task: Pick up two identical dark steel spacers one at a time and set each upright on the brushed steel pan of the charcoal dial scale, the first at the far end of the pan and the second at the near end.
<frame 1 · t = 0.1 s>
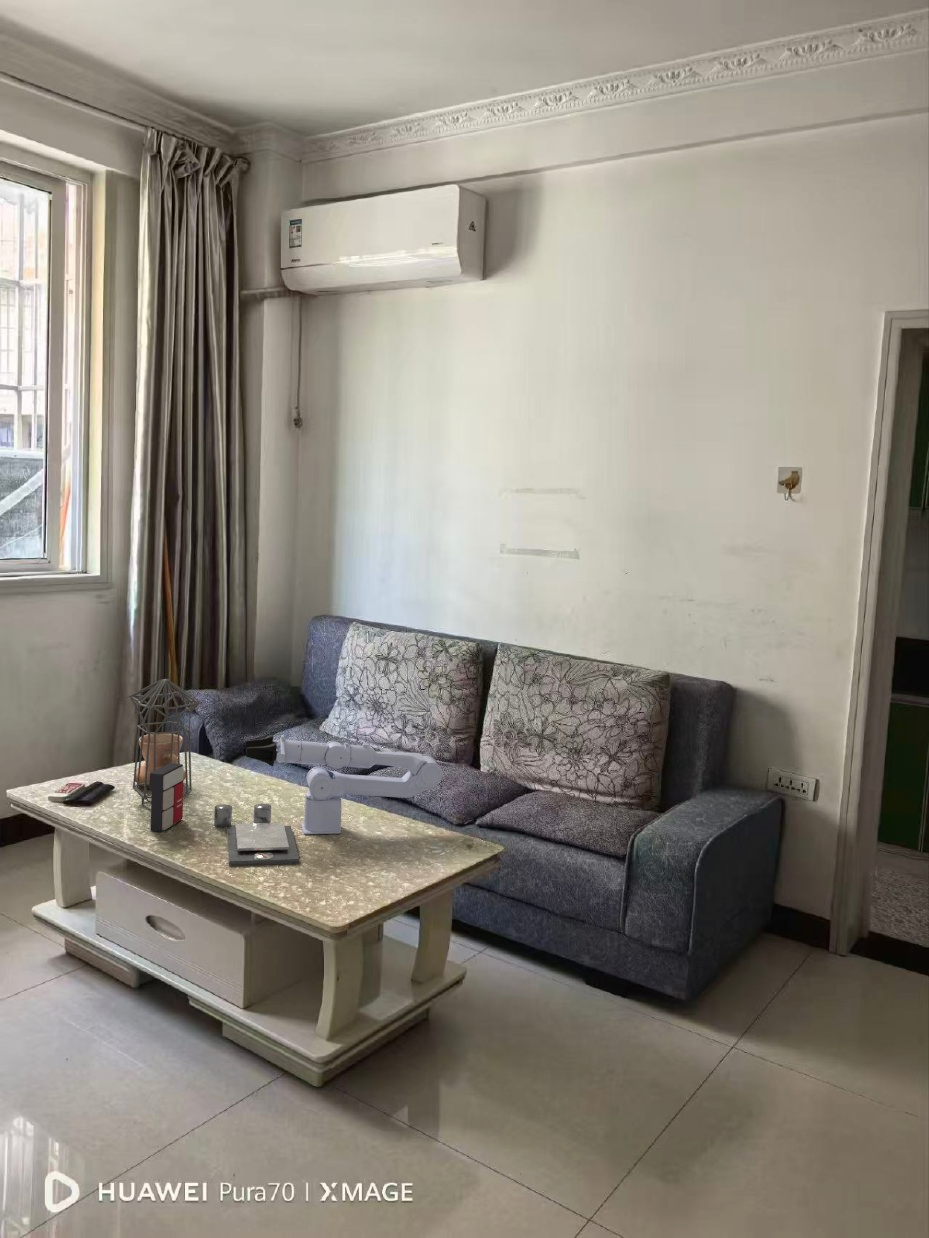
hand: (245, 748, 252), 22 cm above the table, tool horizontal, fingers open, 7 cm apart
geometric lantern: (161, 807, 270), on the table
ceramic jug: (160, 786, 288), on the table
grey and red box: (166, 826, 255), on the table
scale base: (261, 847, 244), on the table
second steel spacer: (262, 824, 260), on the table
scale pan: (261, 836, 245), point 2 cm above the table, slide at 0.0 cm
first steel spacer: (222, 825, 258), on the table
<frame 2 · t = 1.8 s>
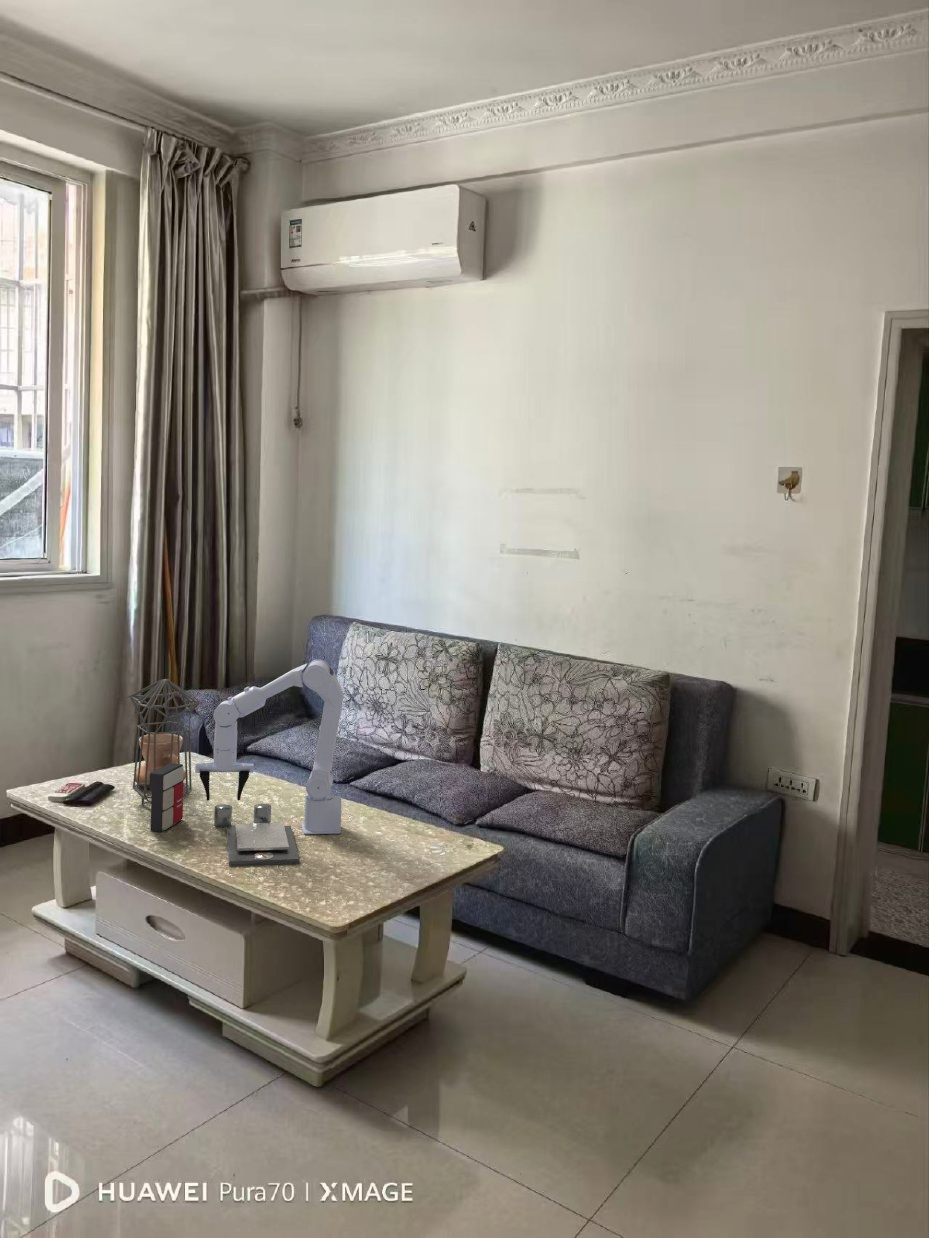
hand: (223, 799, 257), 7 cm above the table, tool pointing down, fingers open, 7 cm apart
nothing on the table moved.
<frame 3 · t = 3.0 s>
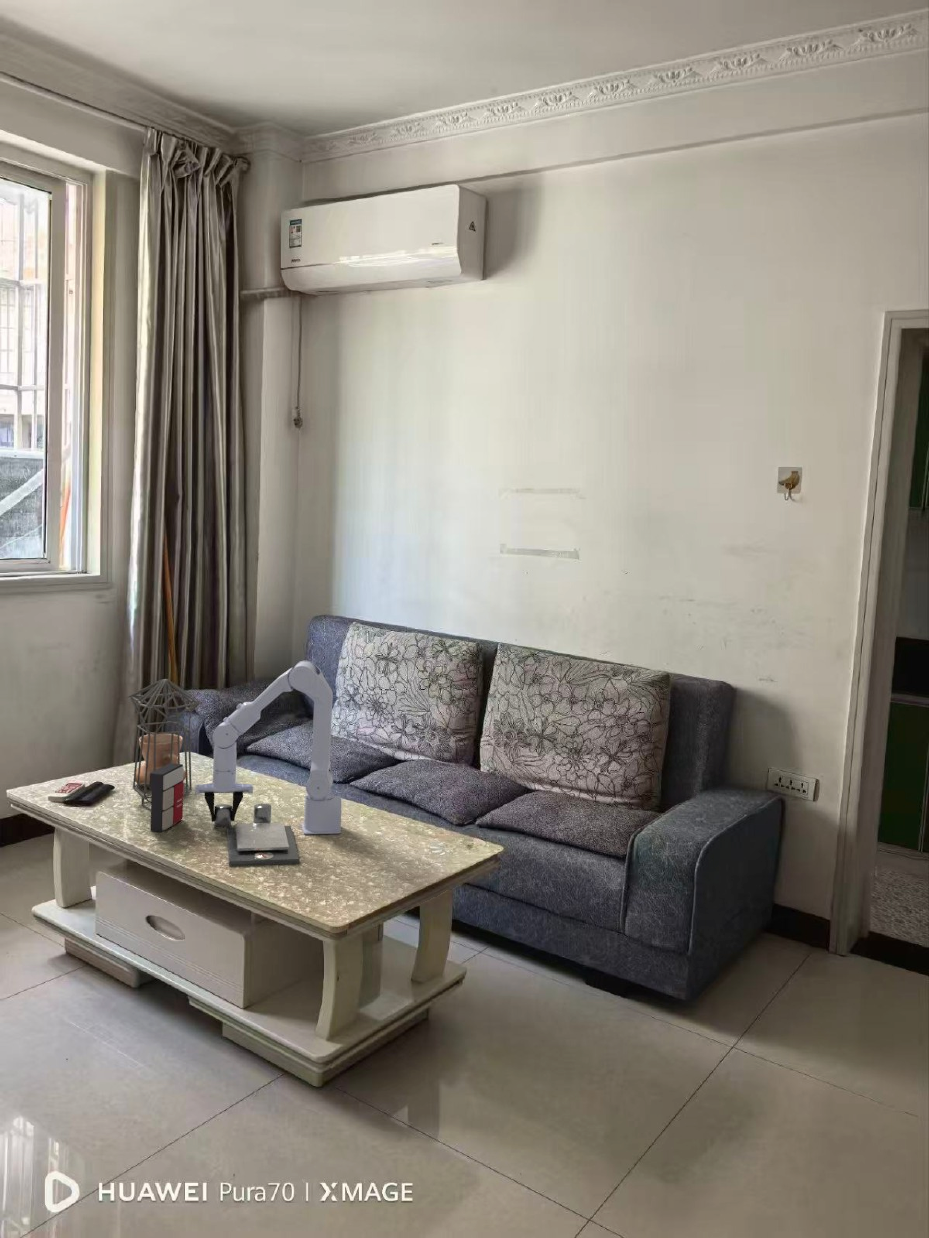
hand: (222, 820, 258), 1 cm above the table, tool pointing down, fingers closed on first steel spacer, 4 cm apart
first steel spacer: (222, 825, 258), on the table, touching gripper
everything else where it was.
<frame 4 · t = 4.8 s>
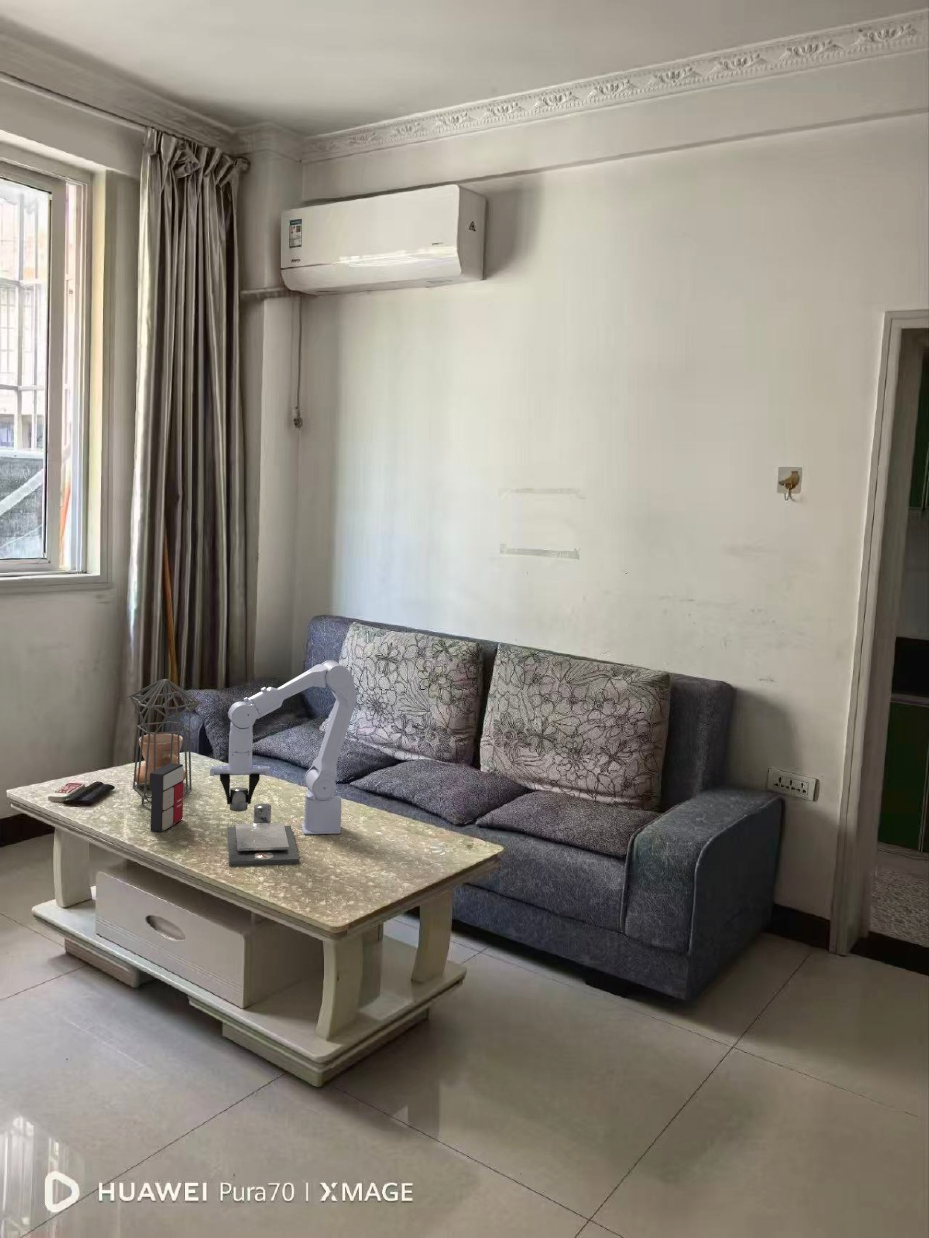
hand: (238, 802, 250), 8 cm above the table, tool pointing down, fingers closed on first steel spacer, 4 cm apart
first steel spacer: (238, 808, 251), point 7 cm above the table, touching gripper
everything else where it was.
when the fingers open (5 cm above the table, at t = 6.7 s): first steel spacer drops 1 cm, resting on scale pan.
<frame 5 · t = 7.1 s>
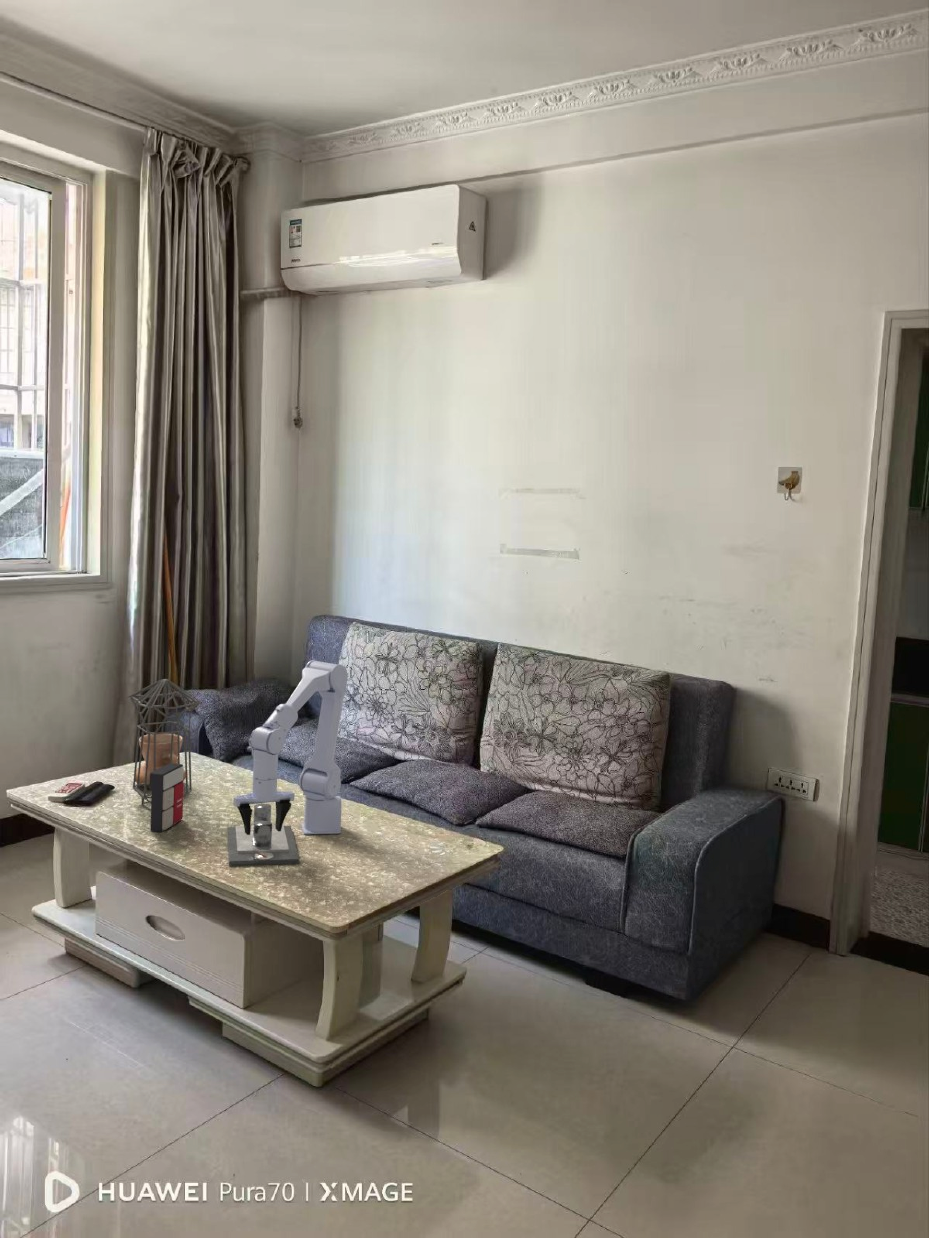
hand: (263, 831, 240), 5 cm above the table, tool pointing down, fingers open, 7 cm apart
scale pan: (261, 838, 245), point 2 cm above the table, slide at 0.6 cm, touching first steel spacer
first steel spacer: (262, 843, 241), point 2 cm above the table, touching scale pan
everything else where it was.
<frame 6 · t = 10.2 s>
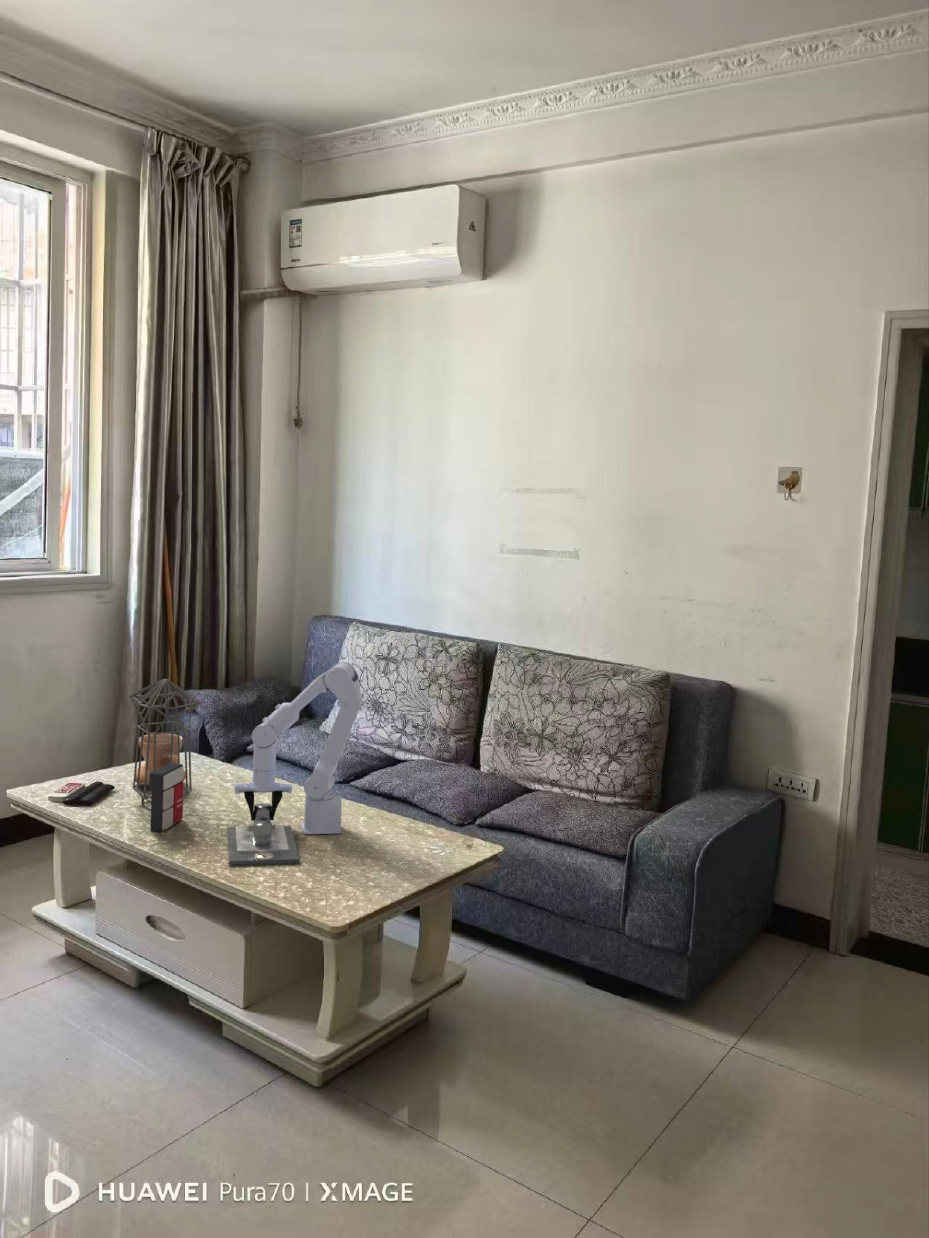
hand: (262, 819, 260), 1 cm above the table, tool pointing down, fingers closed on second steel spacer, 4 cm apart
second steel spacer: (262, 824, 260), on the table, touching gripper
everything else where it was.
when the fingers open (5 cm above the table, at t = 13.1 s): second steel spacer drops 1 cm, resting on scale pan.
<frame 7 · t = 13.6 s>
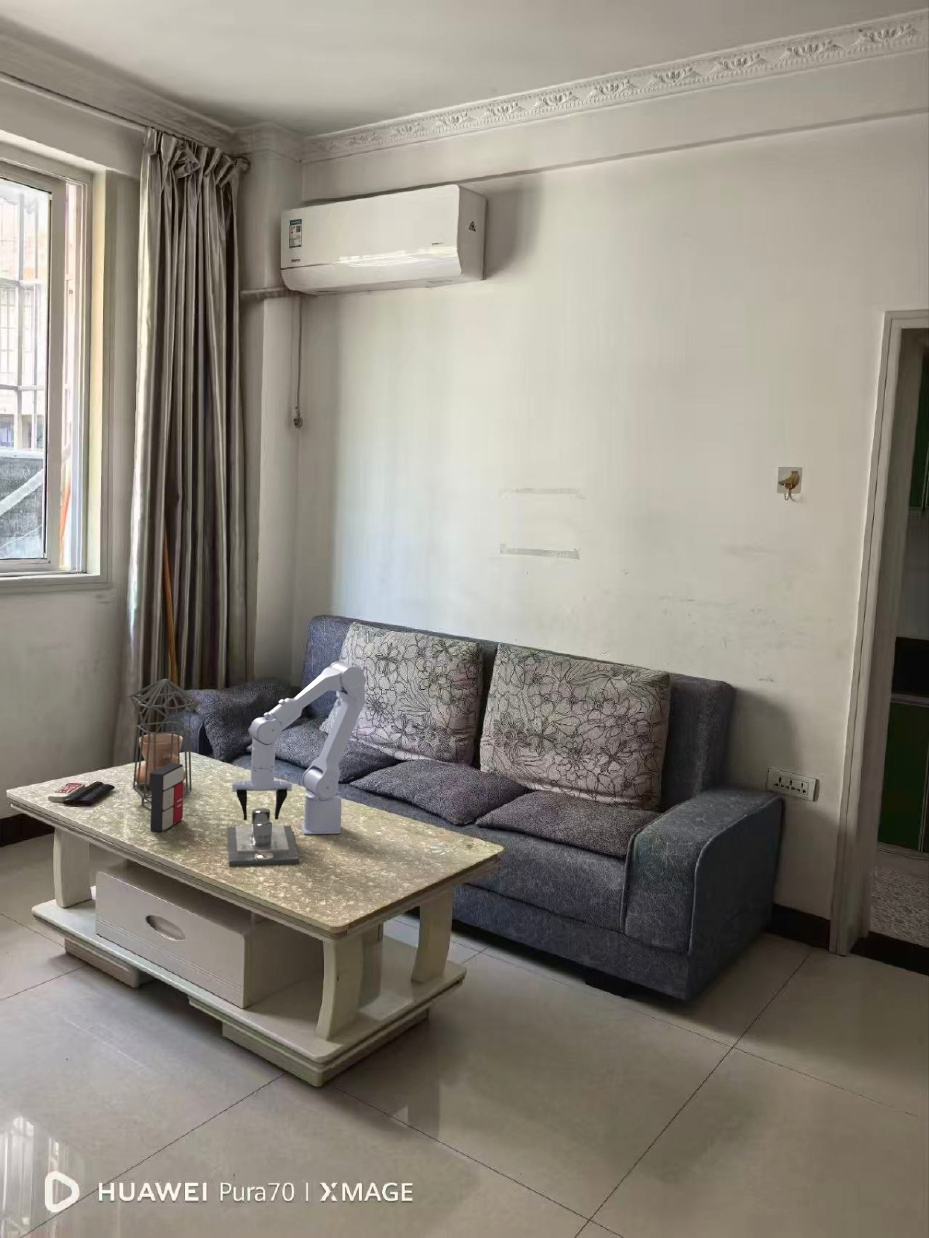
hand: (260, 818, 250), 5 cm above the table, tool pointing down, fingers open, 7 cm apart
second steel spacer: (260, 830, 250), point 2 cm above the table, touching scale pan
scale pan: (261, 838, 245), point 1 cm above the table, slide at 0.6 cm, touching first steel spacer, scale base, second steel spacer
everything else where it was.
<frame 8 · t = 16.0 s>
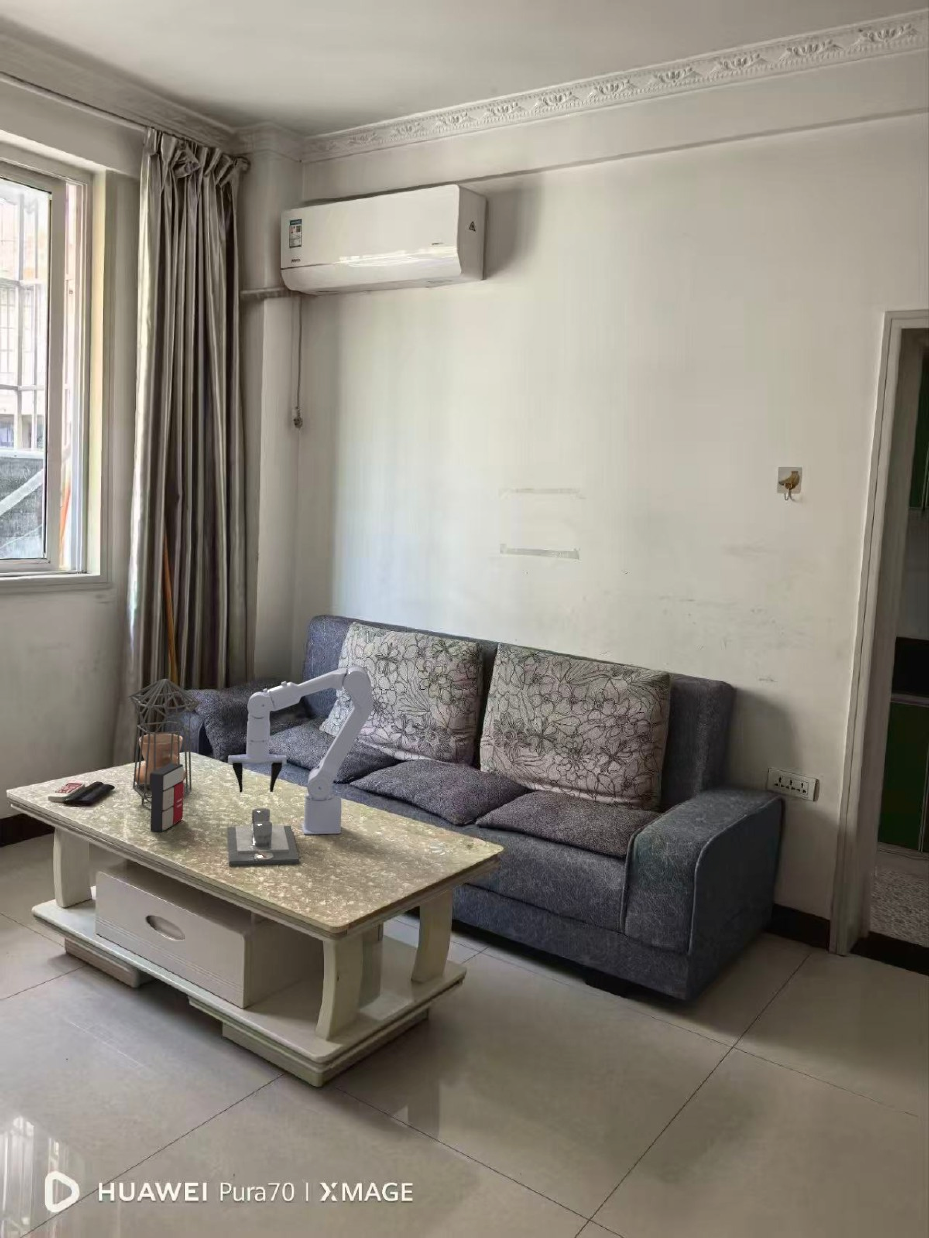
hand: (256, 791, 256), 10 cm above the table, tool pointing down, fingers open, 7 cm apart
nothing on the table moved.
at the end: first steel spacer inside the target area (0.4 cm from its centre), point 1.8 cm above the table; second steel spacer inside the target area (0.3 cm from its centre), point 1.8 cm above the table; the gripper is holding nothing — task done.
